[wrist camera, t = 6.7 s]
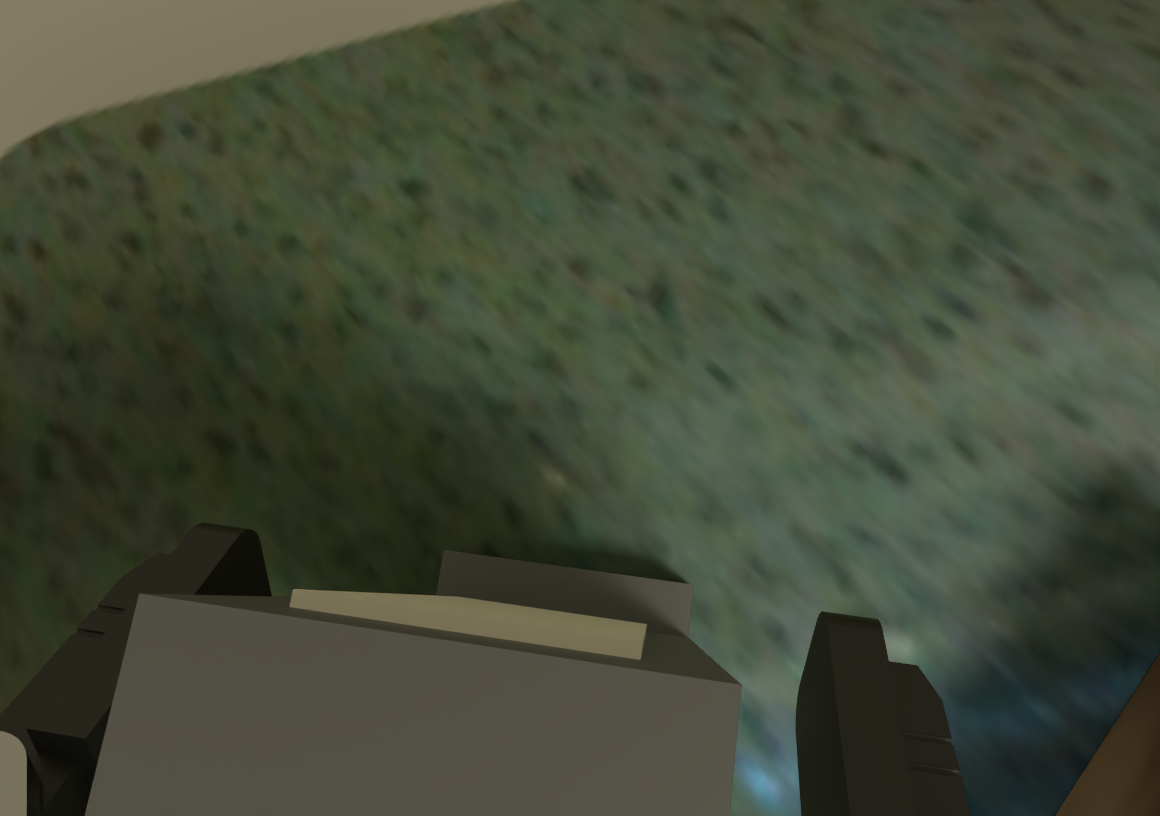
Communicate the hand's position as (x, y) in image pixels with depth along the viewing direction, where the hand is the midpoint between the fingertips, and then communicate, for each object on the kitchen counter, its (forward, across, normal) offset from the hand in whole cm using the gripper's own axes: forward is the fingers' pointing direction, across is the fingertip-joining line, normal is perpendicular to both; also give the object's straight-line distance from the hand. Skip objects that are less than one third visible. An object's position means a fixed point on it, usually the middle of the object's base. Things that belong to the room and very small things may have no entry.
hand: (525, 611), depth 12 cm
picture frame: (+3, 0, +5) cm, 6 cm away
